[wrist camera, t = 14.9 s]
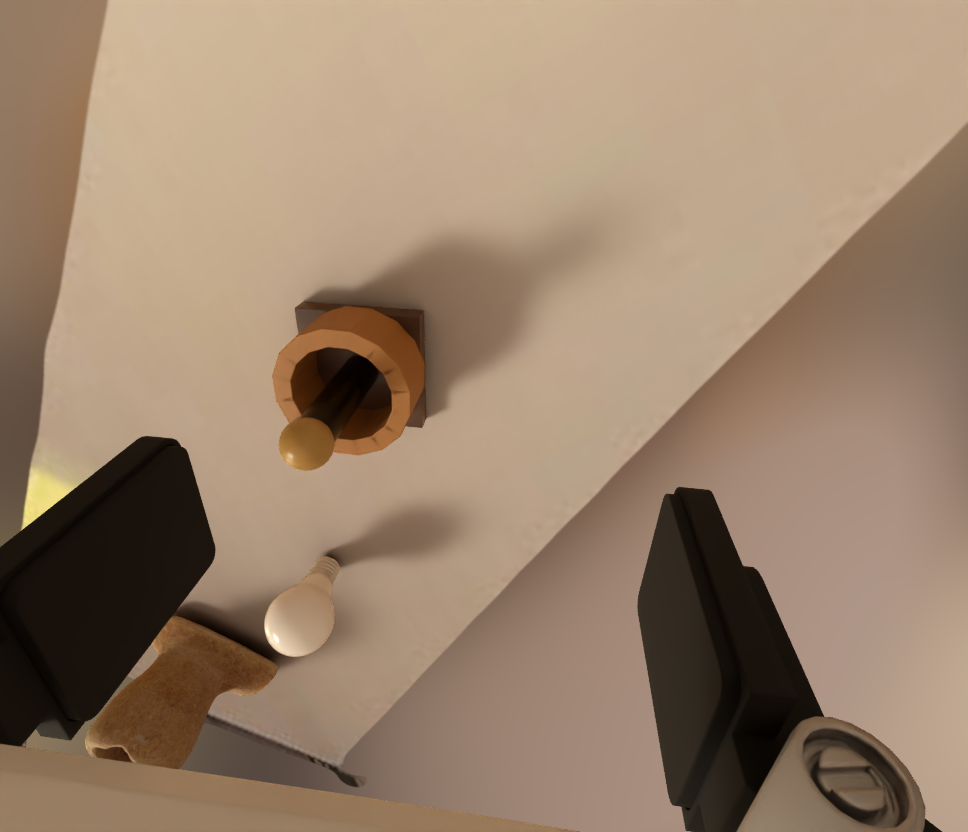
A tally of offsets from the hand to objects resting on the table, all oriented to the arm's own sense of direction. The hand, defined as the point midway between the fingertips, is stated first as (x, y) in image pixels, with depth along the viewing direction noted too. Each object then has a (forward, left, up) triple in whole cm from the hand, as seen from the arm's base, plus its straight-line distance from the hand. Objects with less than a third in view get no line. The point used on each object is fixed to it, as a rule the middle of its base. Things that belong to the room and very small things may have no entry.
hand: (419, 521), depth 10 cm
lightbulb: (+36, -18, -32) cm, 52 cm away
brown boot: (+54, -35, -32) cm, 72 cm away
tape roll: (+12, -12, -31) cm, 35 cm away
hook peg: (+12, -12, -31) cm, 35 cm away
